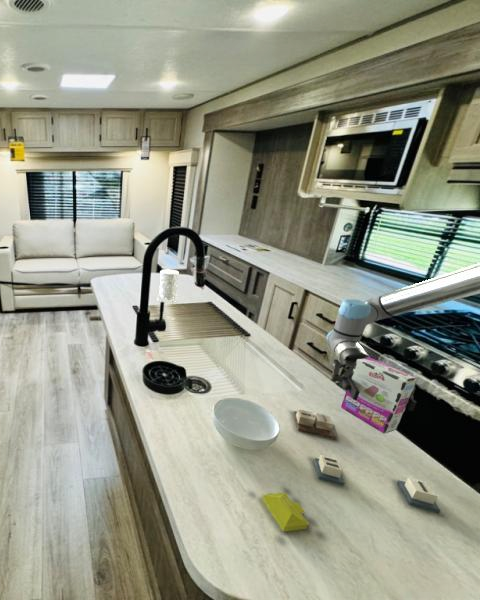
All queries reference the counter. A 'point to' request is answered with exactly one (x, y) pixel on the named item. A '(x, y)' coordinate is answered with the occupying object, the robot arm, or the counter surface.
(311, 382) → the counter surface
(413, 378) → the candy bar box
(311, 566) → the counter surface
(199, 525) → the counter surface
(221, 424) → the cereal bowl
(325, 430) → the cream block pair
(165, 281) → the decorative container
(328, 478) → the cream blocks on trays
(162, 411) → the counter surface
